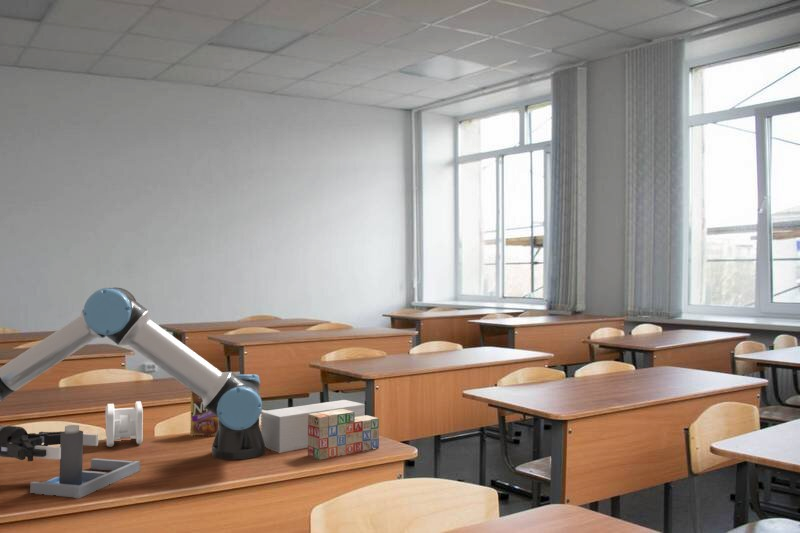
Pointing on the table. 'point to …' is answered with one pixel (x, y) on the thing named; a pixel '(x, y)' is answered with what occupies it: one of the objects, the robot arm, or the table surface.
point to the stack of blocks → (341, 433)
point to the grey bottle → (71, 455)
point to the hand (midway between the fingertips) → (79, 446)
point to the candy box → (202, 418)
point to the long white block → (297, 423)
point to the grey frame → (88, 479)
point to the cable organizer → (124, 423)
